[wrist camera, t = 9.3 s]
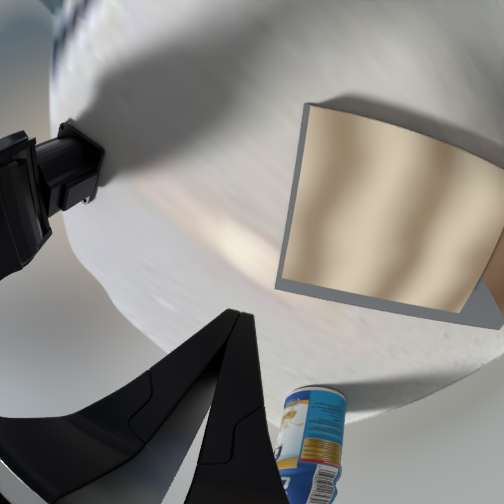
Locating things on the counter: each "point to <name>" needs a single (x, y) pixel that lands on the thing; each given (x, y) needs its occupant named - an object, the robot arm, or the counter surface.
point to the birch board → (392, 213)
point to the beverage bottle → (311, 444)
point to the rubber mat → (472, 314)
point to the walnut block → (496, 273)
